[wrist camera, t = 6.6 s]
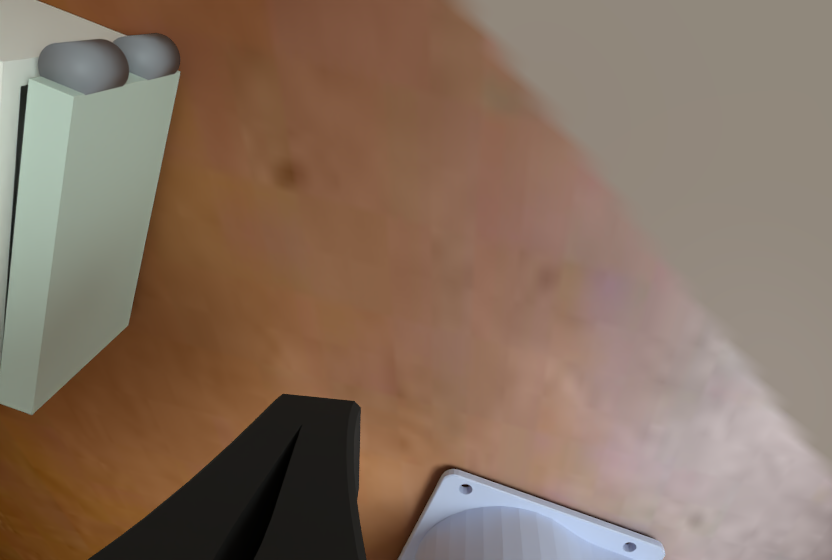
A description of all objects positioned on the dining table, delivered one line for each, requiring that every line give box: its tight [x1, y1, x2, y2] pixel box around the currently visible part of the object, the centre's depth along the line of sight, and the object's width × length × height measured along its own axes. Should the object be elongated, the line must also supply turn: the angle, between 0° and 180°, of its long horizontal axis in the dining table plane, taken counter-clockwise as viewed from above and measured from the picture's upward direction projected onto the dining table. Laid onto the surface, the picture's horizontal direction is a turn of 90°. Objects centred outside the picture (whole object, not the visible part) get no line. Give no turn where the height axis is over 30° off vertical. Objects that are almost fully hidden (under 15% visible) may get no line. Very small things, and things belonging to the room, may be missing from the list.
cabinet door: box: [0, 33, 180, 415], centre depth 17 cm, size 1×10×5 cm, turn 159°
